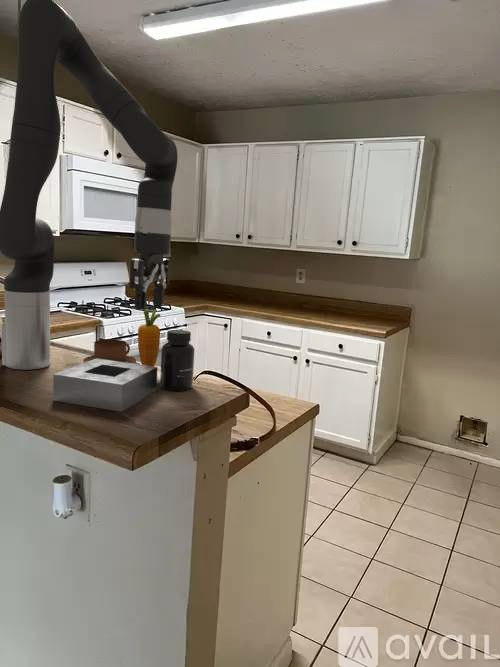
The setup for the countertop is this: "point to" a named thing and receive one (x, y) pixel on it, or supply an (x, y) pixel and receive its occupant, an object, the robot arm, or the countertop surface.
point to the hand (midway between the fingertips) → (149, 307)
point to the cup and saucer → (111, 351)
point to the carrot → (149, 339)
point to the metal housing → (105, 384)
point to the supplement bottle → (177, 361)
